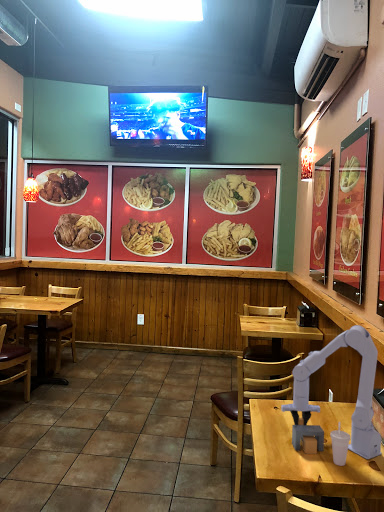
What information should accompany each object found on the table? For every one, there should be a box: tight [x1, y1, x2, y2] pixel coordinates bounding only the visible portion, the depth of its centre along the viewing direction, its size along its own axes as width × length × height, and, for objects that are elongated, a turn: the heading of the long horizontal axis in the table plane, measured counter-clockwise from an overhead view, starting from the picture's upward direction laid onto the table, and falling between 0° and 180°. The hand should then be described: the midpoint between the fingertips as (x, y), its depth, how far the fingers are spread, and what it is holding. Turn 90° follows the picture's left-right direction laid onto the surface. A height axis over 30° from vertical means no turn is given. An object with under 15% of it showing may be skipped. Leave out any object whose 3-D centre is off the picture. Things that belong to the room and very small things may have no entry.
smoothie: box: [329, 421, 351, 466], centre depth 137 cm, size 6×6×14 cm
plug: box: [298, 417, 318, 455], centre depth 150 cm, size 16×4×6 cm, turn 0°
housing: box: [291, 424, 325, 452], centre depth 147 cm, size 5×10×7 cm, turn 90°
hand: (299, 429), depth 157 cm, fingers closed on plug, 2 cm apart
